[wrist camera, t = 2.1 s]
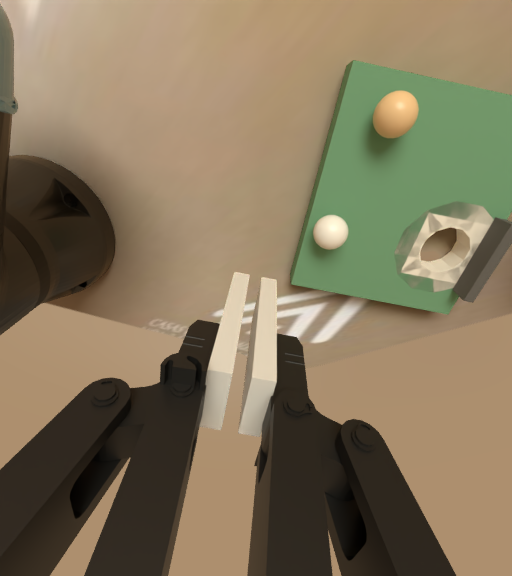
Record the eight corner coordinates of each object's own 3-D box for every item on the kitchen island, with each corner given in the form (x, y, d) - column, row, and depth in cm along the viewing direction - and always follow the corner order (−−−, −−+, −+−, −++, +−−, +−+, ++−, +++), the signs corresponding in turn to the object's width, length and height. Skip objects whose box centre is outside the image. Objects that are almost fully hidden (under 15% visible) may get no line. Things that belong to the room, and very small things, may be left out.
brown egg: (362, 133, 25) (373, 134, 22) (376, 88, 23) (390, 83, 21) (398, 141, 25) (414, 143, 22) (415, 97, 24) (434, 93, 21)
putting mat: (290, 274, 35) (292, 294, 31) (346, 65, 25) (360, 54, 21) (443, 303, 35) (465, 327, 31) (557, 112, 26) (610, 110, 21)
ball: (307, 239, 30) (311, 251, 27) (316, 207, 28) (321, 217, 26) (338, 245, 30) (344, 257, 27) (349, 214, 28) (357, 224, 26)
